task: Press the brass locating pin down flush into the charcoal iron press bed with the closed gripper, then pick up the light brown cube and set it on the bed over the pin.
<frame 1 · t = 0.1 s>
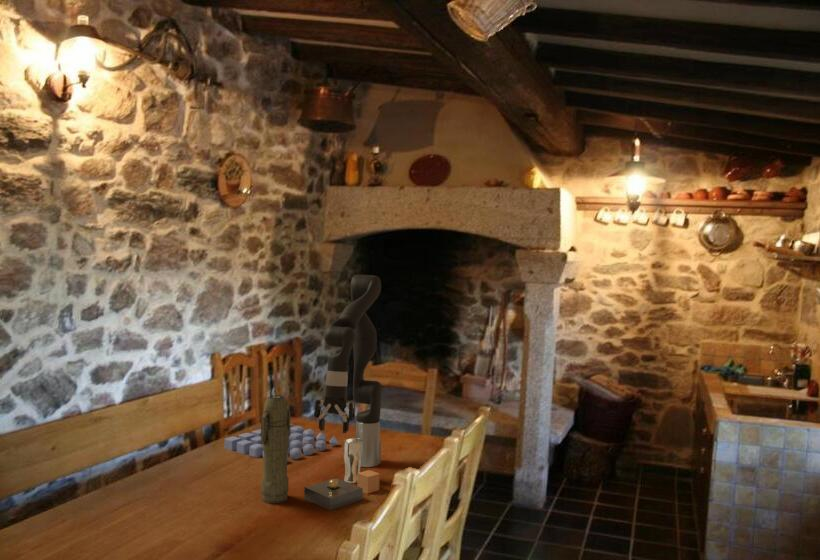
hand: (333, 431, 241), 22 cm above the table, tool pointing down, fingers open, 8 cm apart
light brown cube: (368, 490, 248), on the table
blocks: (283, 449, 296), on the table
press bed: (333, 499, 238), on the table
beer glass: (352, 481, 257), on the table
green stone statue: (275, 499, 237), on the table
pin: (333, 485, 238), point 5 cm above the table, slide at 0.0 cm
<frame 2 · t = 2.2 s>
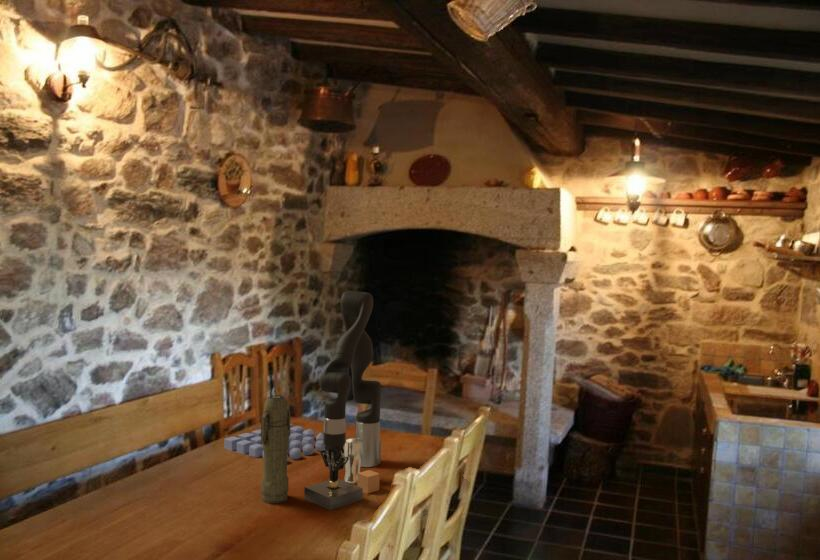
hand: (333, 480, 237), 6 cm above the table, tool pointing down, fingers closed
pin: (333, 485, 238), point 5 cm above the table, slide at 0.1 cm, touching gripper
everything else where it was.
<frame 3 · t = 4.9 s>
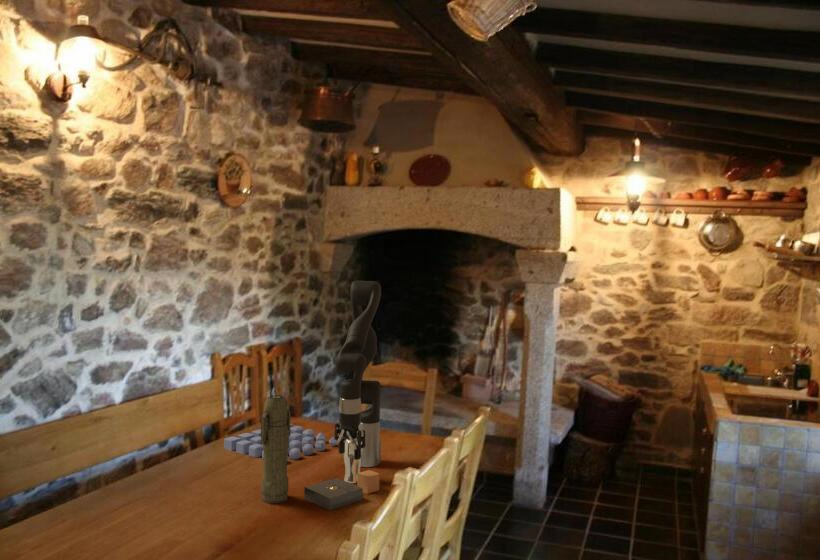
hand: (349, 456, 242), 13 cm above the table, tool pointing down, fingers open, 8 cm apart
pin: (333, 492, 238), point 2 cm above the table, slide at 2.4 cm
everything else where it was.
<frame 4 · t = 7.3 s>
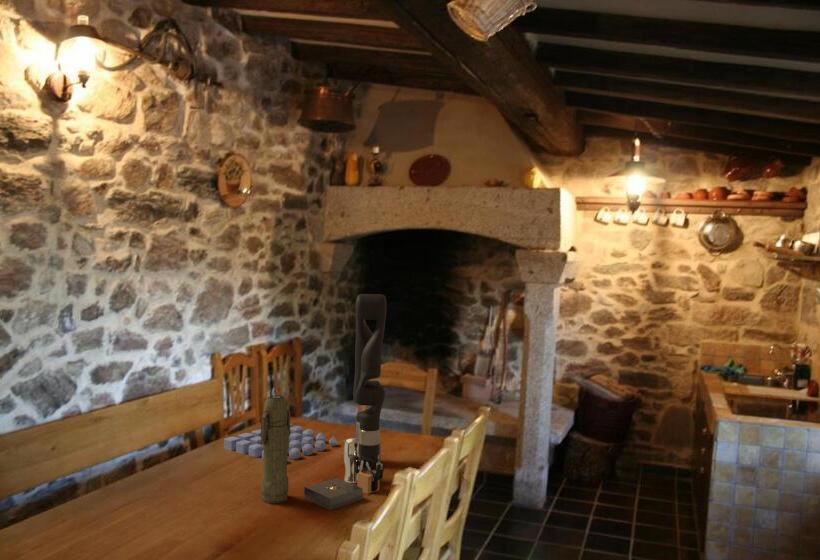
hand: (368, 488, 248), 1 cm above the table, tool pointing down, fingers closed on light brown cube, 5 cm apart
light brown cube: (368, 489, 248), on the table, touching gripper
everything else where it was.
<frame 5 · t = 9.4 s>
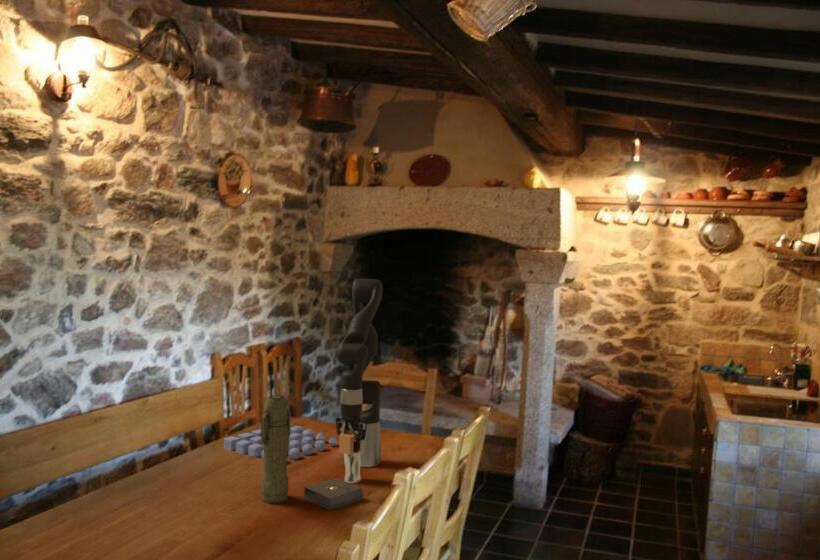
hand: (350, 449, 241), 16 cm above the table, tool pointing down, fingers closed on light brown cube, 5 cm apart
light brown cube: (350, 451, 241), point 15 cm above the table, touching gripper
everything else where it was.
when the fingers open (6 cm above the table, at t = 11.5 s): light brown cube drops 1 cm, resting on press bed.
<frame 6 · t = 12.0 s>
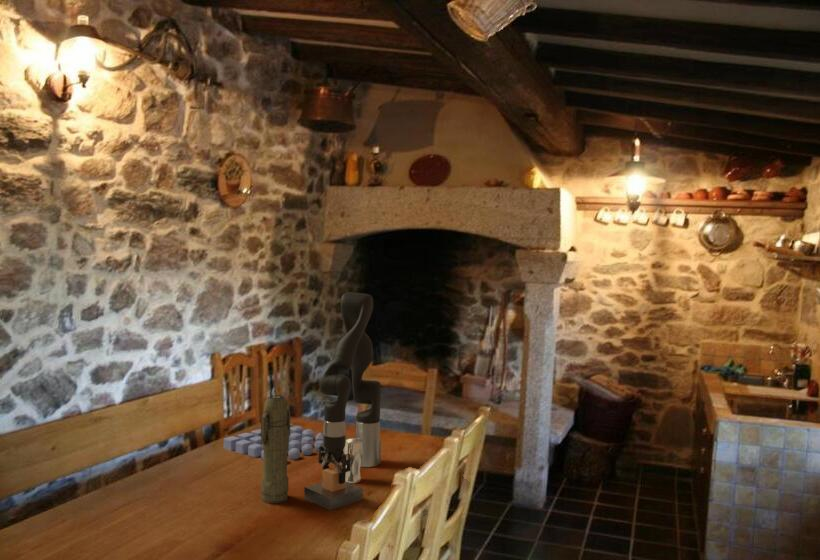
hand: (333, 480, 238), 7 cm above the table, tool pointing down, fingers open, 8 cm apart
light brown cube: (333, 487, 238), point 4 cm above the table, touching press bed
pin: (333, 493, 238), point 2 cm above the table, slide at 2.7 cm
everything else where it was.
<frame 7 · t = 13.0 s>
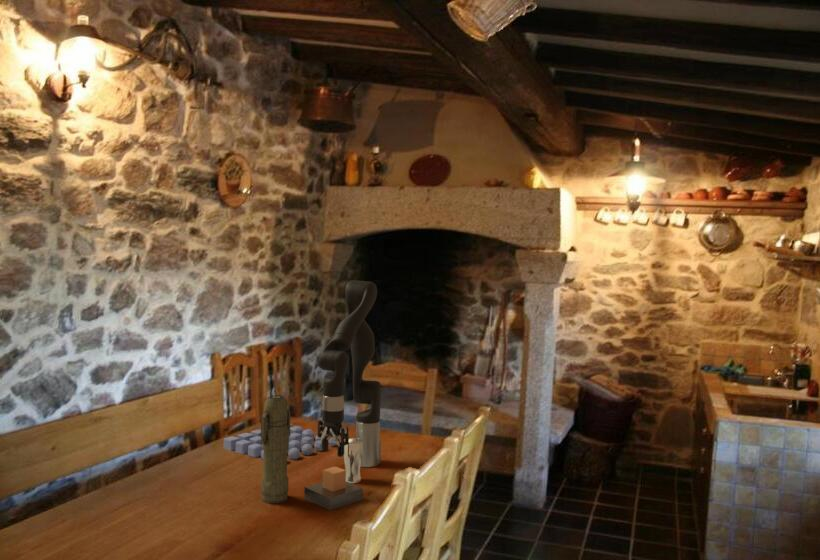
hand: (332, 453, 243), 14 cm above the table, tool pointing down, fingers open, 8 cm apart
nothing on the table moved.
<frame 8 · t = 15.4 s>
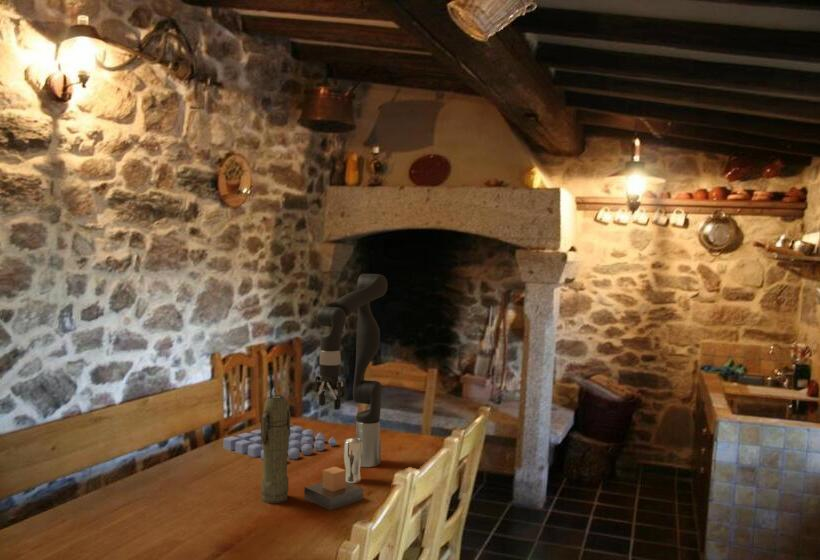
hand: (329, 407, 251), 28 cm above the table, tool pointing down, fingers open, 8 cm apart
nothing on the table moved.
at the end: pin slide at 2.7 cm; light brown cube 0.2 cm off-centre on the press bed, point 4.0 cm above the press bed's base; light brown cube tilted 0° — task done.
